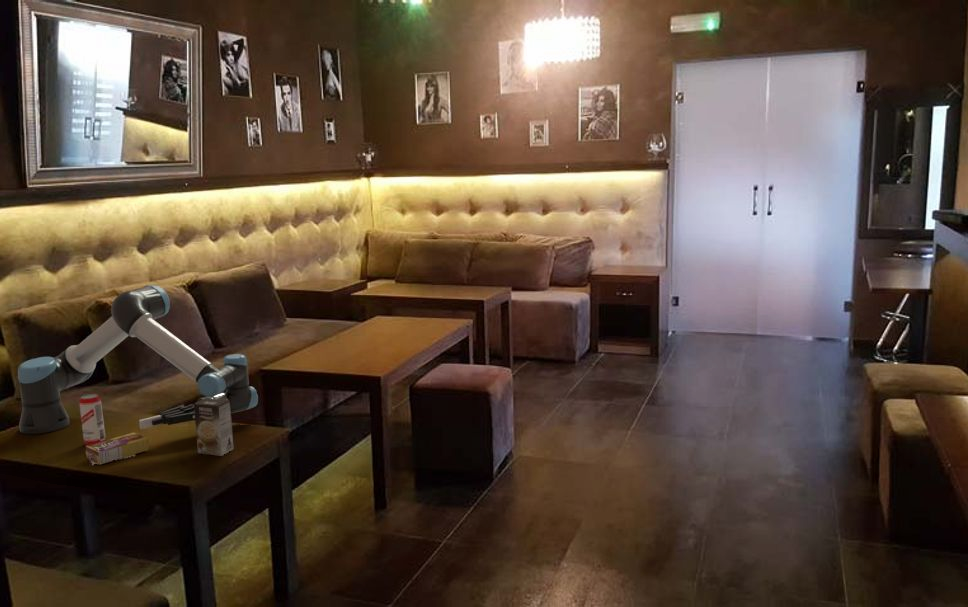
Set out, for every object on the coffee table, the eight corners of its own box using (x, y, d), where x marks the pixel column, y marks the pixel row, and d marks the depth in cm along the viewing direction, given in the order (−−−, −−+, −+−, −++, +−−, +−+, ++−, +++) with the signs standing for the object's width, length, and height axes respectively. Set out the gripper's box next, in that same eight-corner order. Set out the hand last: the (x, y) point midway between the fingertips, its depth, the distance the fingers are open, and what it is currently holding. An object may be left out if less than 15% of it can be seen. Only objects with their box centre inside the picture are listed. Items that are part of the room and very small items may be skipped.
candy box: (135, 444, 252) (86, 458, 241) (134, 431, 252) (84, 444, 240) (148, 451, 247) (99, 465, 235) (147, 437, 246) (97, 451, 235)
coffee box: (196, 453, 244) (191, 403, 241) (210, 446, 250) (205, 397, 247) (222, 456, 241) (217, 405, 238) (235, 449, 247) (230, 399, 244)
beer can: (97, 447, 251) (91, 399, 248) (80, 446, 253) (73, 398, 250) (110, 440, 257) (104, 393, 254) (93, 440, 259) (87, 392, 256)
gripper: (222, 421, 260) (149, 440, 244) (204, 413, 269) (133, 431, 253) (220, 399, 259) (147, 417, 243) (202, 392, 268) (130, 408, 252)
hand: (140, 424), depth 248 cm, fingers closed
